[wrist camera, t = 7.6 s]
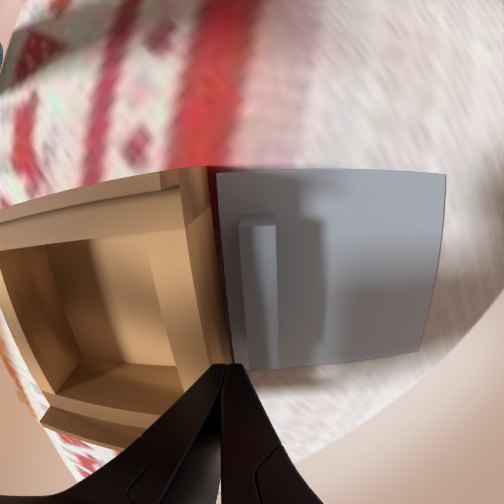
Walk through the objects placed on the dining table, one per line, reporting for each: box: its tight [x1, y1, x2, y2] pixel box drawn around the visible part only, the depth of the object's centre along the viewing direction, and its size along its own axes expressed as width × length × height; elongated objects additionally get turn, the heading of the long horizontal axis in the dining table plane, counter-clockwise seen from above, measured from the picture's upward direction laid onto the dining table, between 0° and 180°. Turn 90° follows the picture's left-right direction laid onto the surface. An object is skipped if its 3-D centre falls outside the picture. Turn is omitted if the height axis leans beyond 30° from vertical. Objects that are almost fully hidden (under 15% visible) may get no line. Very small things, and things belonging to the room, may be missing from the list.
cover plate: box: [216, 169, 445, 371], centre depth 11 cm, size 9×10×3 cm
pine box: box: [0, 166, 232, 451], centre depth 10 cm, size 11×10×5 cm
